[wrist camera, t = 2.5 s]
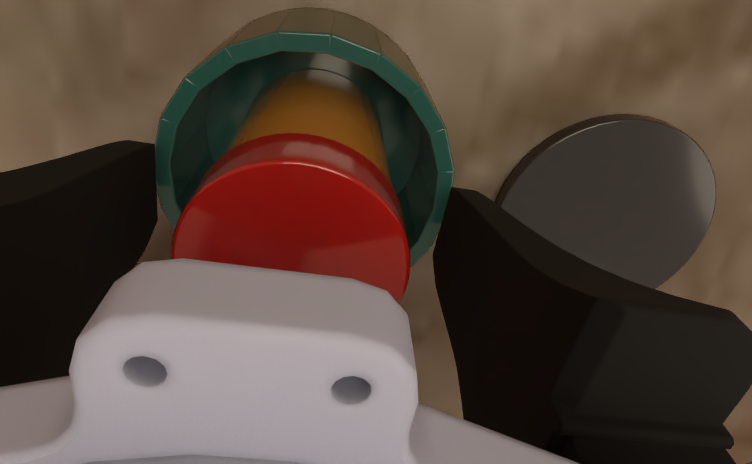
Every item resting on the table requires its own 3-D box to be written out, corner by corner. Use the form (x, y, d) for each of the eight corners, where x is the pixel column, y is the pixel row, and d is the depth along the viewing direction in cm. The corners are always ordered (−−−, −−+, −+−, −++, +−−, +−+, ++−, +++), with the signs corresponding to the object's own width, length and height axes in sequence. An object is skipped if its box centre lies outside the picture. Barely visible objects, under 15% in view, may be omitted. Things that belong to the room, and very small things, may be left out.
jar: (271, 217, 18) (228, 378, 12) (216, 87, 16) (123, 198, 9) (402, 183, 18) (432, 330, 11) (365, 44, 15) (376, 129, 9)
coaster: (505, 322, 22) (508, 332, 21) (473, 148, 18) (477, 155, 17) (700, 277, 21) (709, 286, 20) (714, 85, 17) (725, 90, 16)
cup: (249, 254, 19) (227, 329, 16) (152, 48, 16) (93, 85, 12) (450, 203, 19) (475, 269, 15) (401, -26, 15) (417, -12, 11)
